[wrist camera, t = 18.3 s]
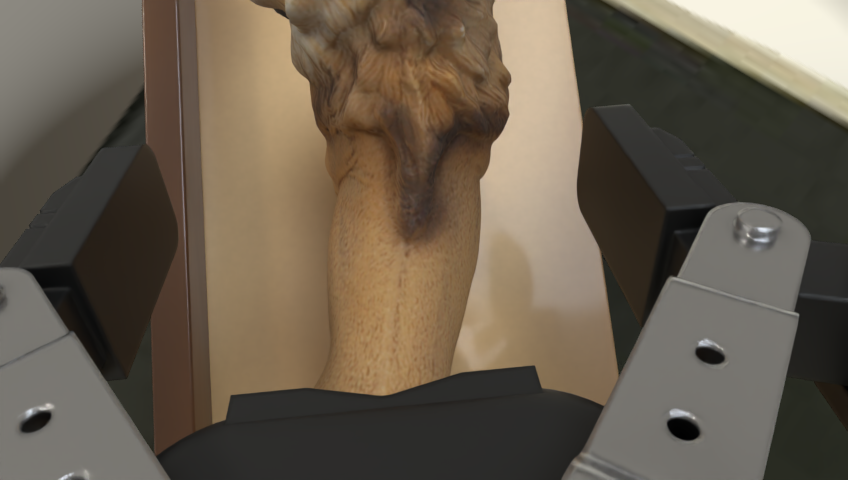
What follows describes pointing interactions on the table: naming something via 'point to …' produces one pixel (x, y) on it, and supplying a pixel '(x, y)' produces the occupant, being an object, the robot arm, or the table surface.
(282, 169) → the rack
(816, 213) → the table surface
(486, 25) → the lion figurine
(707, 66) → the table surface
